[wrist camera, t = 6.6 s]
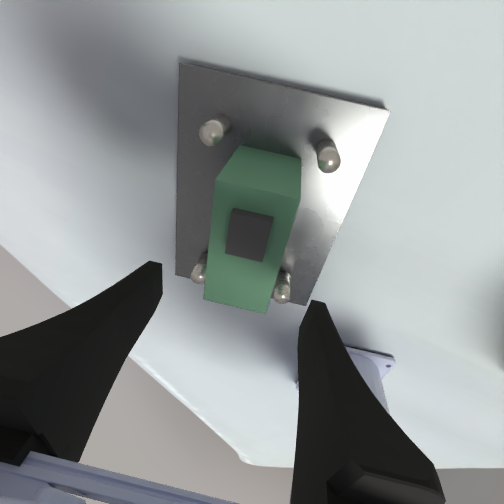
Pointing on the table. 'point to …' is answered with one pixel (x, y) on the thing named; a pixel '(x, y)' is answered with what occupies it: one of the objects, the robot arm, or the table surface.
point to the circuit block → (251, 226)
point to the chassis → (277, 141)
